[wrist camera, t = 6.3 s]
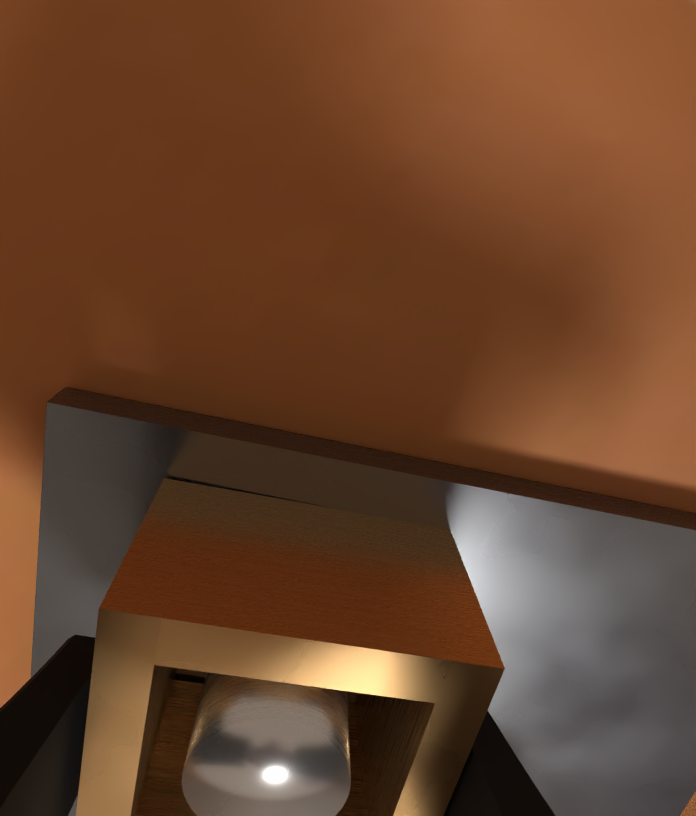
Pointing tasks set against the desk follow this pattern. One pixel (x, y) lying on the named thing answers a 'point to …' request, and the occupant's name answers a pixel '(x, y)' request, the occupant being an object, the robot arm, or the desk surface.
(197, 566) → the collar
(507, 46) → the desk surface
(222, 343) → the desk surface
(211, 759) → the post
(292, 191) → the desk surface
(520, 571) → the steel plate
